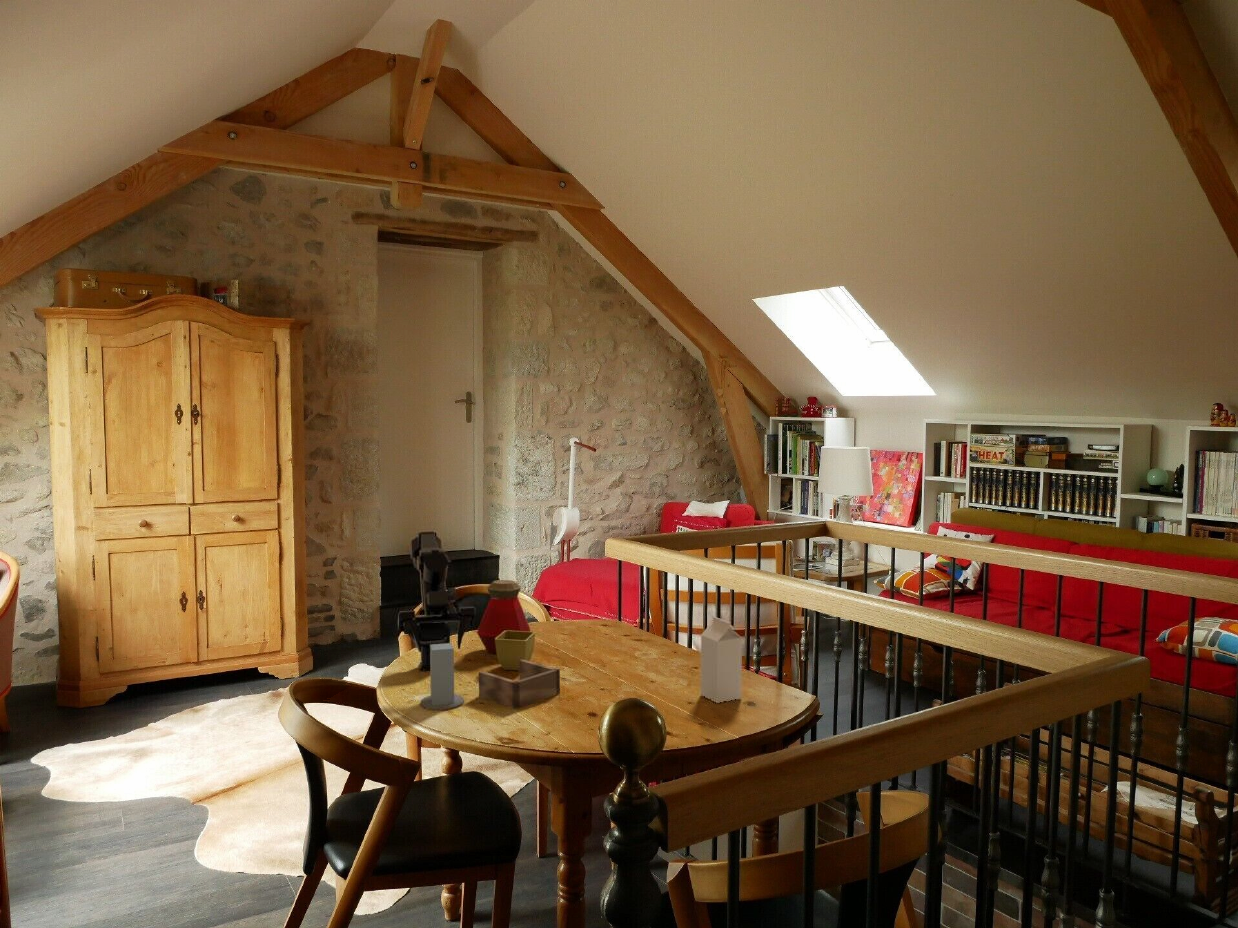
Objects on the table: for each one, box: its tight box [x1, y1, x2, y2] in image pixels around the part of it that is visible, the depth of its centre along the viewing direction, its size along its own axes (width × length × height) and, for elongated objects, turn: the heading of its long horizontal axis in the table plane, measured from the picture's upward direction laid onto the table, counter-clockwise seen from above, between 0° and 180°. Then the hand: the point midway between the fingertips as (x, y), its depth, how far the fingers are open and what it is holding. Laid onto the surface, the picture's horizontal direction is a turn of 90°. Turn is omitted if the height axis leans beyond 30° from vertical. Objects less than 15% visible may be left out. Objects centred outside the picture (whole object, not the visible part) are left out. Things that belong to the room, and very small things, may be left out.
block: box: [429, 642, 455, 705], centre depth 213 cm, size 5×5×13 cm
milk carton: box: [700, 616, 743, 704], centre depth 217 cm, size 7×7×19 cm
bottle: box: [476, 579, 531, 656], centre depth 257 cm, size 16×14×20 cm
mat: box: [420, 693, 465, 711], centre depth 213 cm, size 10×10×1 cm
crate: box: [478, 659, 561, 710], centre depth 219 cm, size 13×14×6 cm
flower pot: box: [495, 631, 536, 671], centre depth 241 cm, size 9×9×9 cm
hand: (439, 649), depth 217 cm, fingers open, 9 cm apart
